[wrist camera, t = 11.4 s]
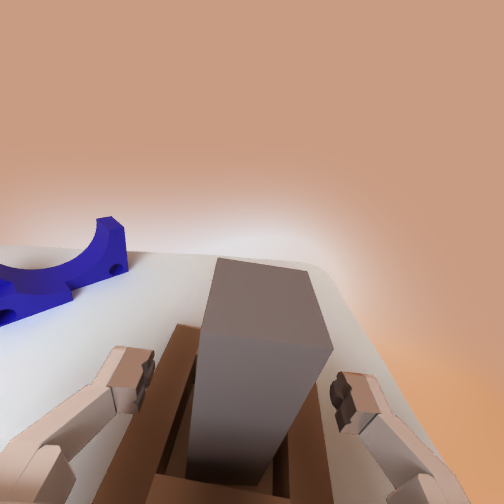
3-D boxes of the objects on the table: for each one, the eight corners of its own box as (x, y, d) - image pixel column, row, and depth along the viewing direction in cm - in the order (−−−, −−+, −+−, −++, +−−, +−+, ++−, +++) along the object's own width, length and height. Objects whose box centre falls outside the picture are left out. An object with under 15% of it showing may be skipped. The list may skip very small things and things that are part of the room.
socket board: (10, 693, 8) (-50, 709, 6) (177, 331, 22) (178, 294, 20) (346, 752, 8) (412, 791, 6) (302, 356, 22) (318, 323, 20)
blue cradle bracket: (-16, 334, 19) (-51, 274, 16) (-26, 302, 21) (-58, 244, 18) (135, 279, 27) (131, 233, 24) (116, 260, 30) (111, 216, 26)
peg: (184, 481, 13) (200, 332, 7) (198, 403, 16) (217, 257, 10) (257, 486, 13) (333, 348, 7) (256, 408, 17) (307, 271, 11)
